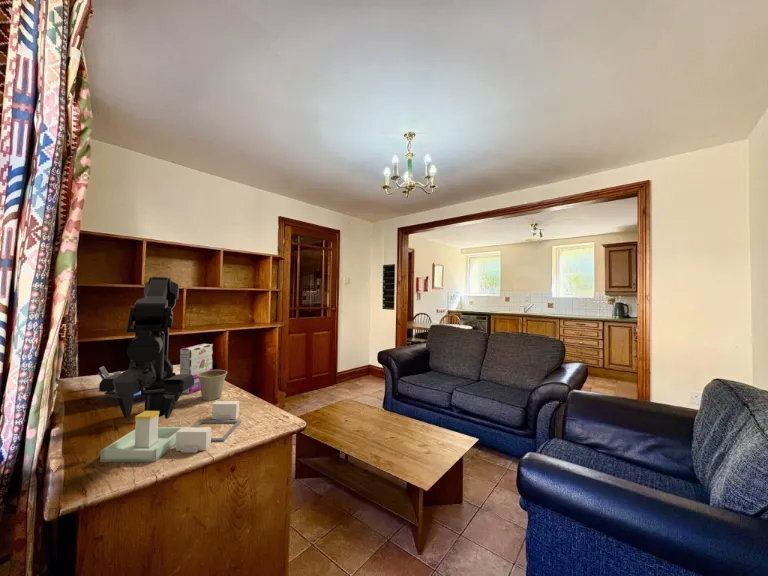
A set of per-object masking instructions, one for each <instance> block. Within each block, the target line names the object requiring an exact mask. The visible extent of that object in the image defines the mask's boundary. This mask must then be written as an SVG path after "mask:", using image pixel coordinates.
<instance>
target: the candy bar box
mask: <svg viewBox="0 0 768 576" xmlns="http://www.w3.org/2000/svg"><path fill="white" fill-rule="evenodd" d="M213 345H214V344H213V343H211V344H210V343H201V344H197V345H192V346H191V345H190V346H188V347H184V348H180V349H179V354H180V355H179V374H188V375H192V376H193V377H194V385H193V386H192V387H190V388H188V389H187V390H185V391H183V393H182V394H188V395H190V394H193V393H196V392H199V391H201V387H200V381H199V378H198V377H197V374H199V373H201V372H204V371H210V370H213V357H214V356H213V355H214V353H213V352H214V351H213V349H214V346H213Z"/></svg>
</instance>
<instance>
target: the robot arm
mask: <svg viewBox="0 0 768 576" xmlns="http://www.w3.org/2000/svg"><path fill="white" fill-rule="evenodd" d="M179 291H180V288H179V284H178V283H176V282H174V281H172V279H171V278H170V277H167V276H151V277H149V279H148V281H147V282H144V290H143V296H144V297H142V298H138V299H137V300H136V302H135V303H134V306H131V307H130V311H129V315H128V317H129V318H128V323H127V326H126V327H127V329H126V333H127V334H128V333H131V334H132V333H133V334H134V333H135V334H134V335H135V336H134V339H132V341H130V342H129V344H128V345H127V347H126V355H127V356H128V358H129V359H130V360H129V361H130V362H129V366H128V368H127V370H124V371H123V372H122V373H121V374H115V375H114V374H111V375H112V376H109V377H107V378H104V379H102V378H101V380H100V382H99V383H98V392H99V393H101V392H103V393H104V395H106V396H110V397H112V398H113V399H114V400H115V401H116V403H117V404H118V406H119V409H120V411H121V413H122V415H123V418H124V420H127V419H129V418H130V417H131V413H132V409H133V403H134V402H133V397H134V394H137V393H139V392H140V391H141V396H143V395H145V400H144V411H159V416H164V417H165V418H164V419H166V420H167V419H169V418H171V415H172V413H173V411H174V409H175V408H176V407H175V406H176V405H177V402H178V401H179V399H180V398H181V396H182V394H184V393H183V391H185V390H187V389H188V388H190V387H192V386H193V385H194V377H193V376H192V375H188V374H180V373H178V374H176V372H175V371H174V365H172V362H171V361H170V360H169V337H170V333H169V332H170V328H173V317H174V311H173V309H175V306H176V303H177V300H179V298H180V297H179V296H180V292H179ZM144 411H143V412H144Z"/></svg>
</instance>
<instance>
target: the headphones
mask: <svg viewBox="0 0 768 576" xmlns="http://www.w3.org/2000/svg"><path fill="white" fill-rule="evenodd" d="M240 402H241V401H240V400H237V401H236V400H230V401H229V400H215V402H213V403H211V404H212V405H211V419H201V420H199V421H198V422H196V423H195V424H194V425H193V426H191V427H186V426H181V427H182V428H181V429H179V430H178V431H177V432H176V445H175V452H176V451H178V452H179V451H180V453H198V452H199V451H207V450H208V449H209V448H210V447H211V446H212V444H211V443H212V442H224V441H225V440H227V438H228V437H229V436H230V435H231V434H232V433H233V432H234V430H236V428H237V427H238V426H239V425H240V424H241V423H242V420H240V419H238V417H239V416H240V405H241V404H240ZM201 424H234V425H233V426H232V427H230V428H229V430H228V431H227V432H226V433H225V434H224V435H223V436H222V437H212V427H205V426H204V427H203V426H202V427H199V426H200V425H201Z"/></svg>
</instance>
